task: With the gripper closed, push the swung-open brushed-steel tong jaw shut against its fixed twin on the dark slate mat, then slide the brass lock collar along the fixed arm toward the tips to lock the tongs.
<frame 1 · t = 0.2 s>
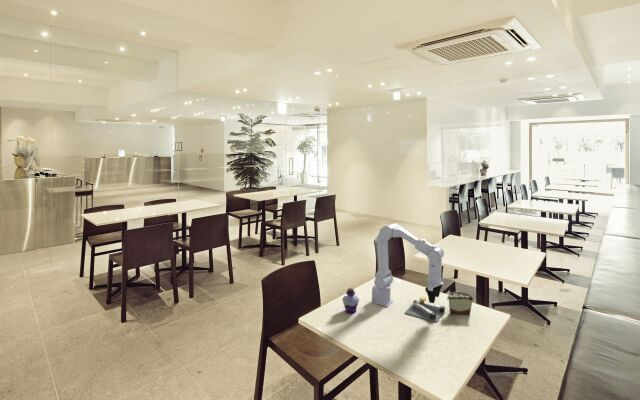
hand: (434, 299, 160), 10 cm above the table, fingers open, 7 cm apart
food container: (458, 312, 167), on the table
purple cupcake: (350, 311, 171), on the table
tongs fixed: (415, 307, 172), resting on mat
jaw: (423, 309, 166), point 2 cm above the table, hinge at -32.0°
lock collar: (422, 300, 172), point 4 cm above the table, slide at 0.0 cm
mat: (424, 312, 167), on the table
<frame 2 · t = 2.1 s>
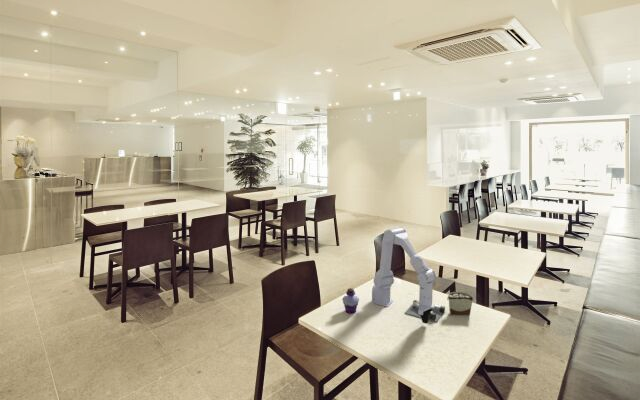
hand: (425, 322, 155), 1 cm above the table, fingers closed
nothing on the table moved.
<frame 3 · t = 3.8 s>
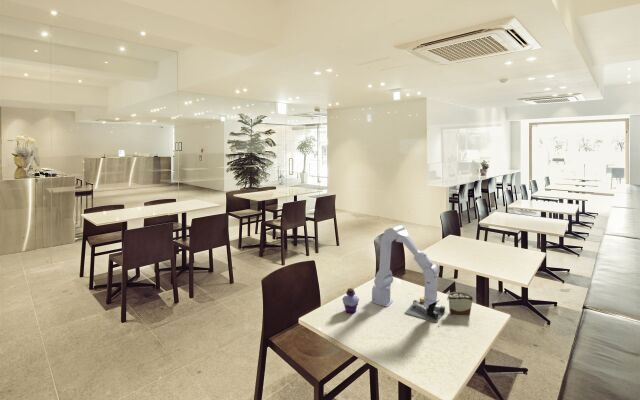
hand: (430, 315, 161), 2 cm above the table, fingers closed, pressing on jaw
jaw: (424, 308, 166), point 2 cm above the table, hinge at -25.2°, touching gripper
everything else where it was.
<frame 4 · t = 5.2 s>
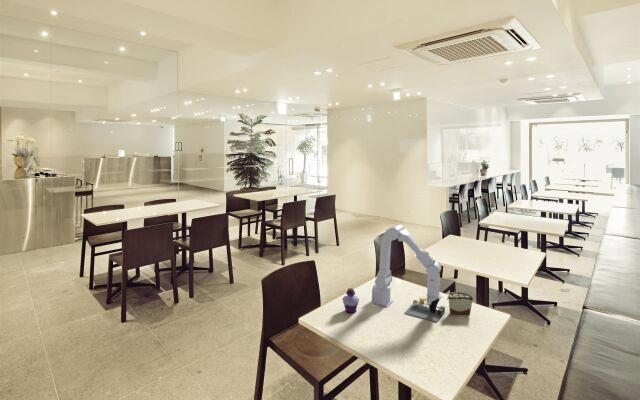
hand: (432, 312, 164), 2 cm above the table, fingers closed
jaw: (427, 307, 168), point 2 cm above the table, hinge at -4.9°, touching gripper
everything else where it was.
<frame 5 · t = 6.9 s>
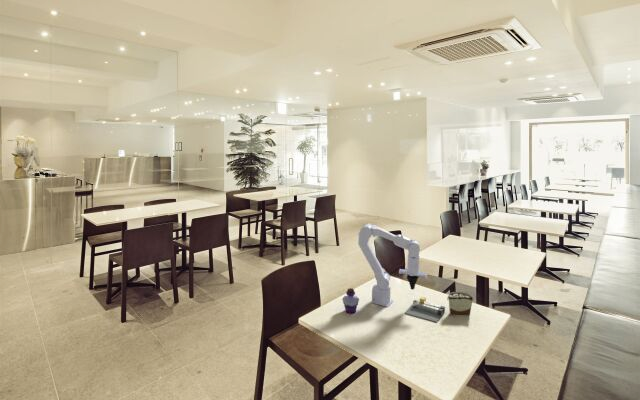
hand: (412, 288, 174), 9 cm above the table, fingers closed
jaw: (427, 307, 168), point 2 cm above the table, hinge at -4.8°
everything else where it was.
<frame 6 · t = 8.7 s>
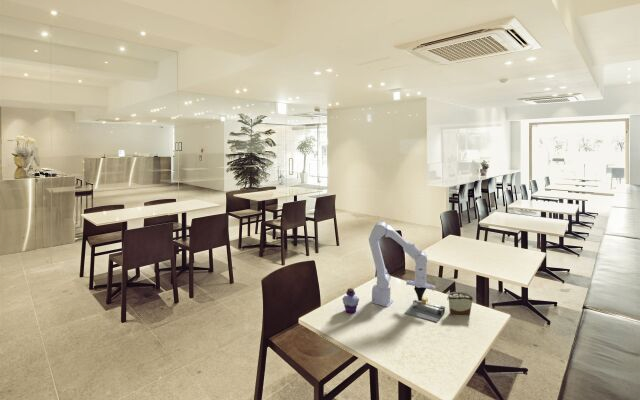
hand: (420, 300, 173), 4 cm above the table, fingers closed
lock collar: (424, 300, 171), point 4 cm above the table, slide at 0.9 cm, touching gripper
everything else where it was.
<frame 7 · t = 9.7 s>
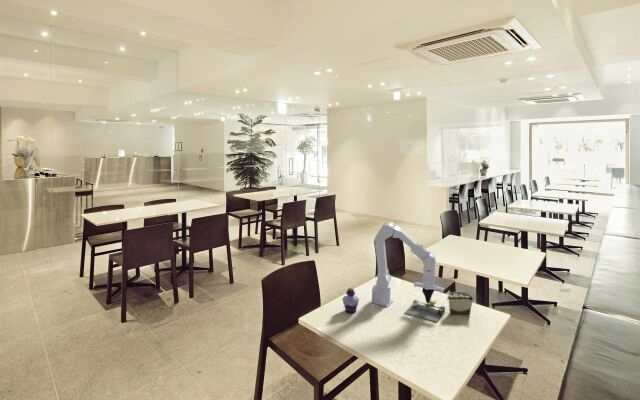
hand: (428, 302, 170), 4 cm above the table, fingers closed
lock collar: (432, 302, 169), point 4 cm above the table, slide at 5.1 cm, touching gripper
everything else where it was.
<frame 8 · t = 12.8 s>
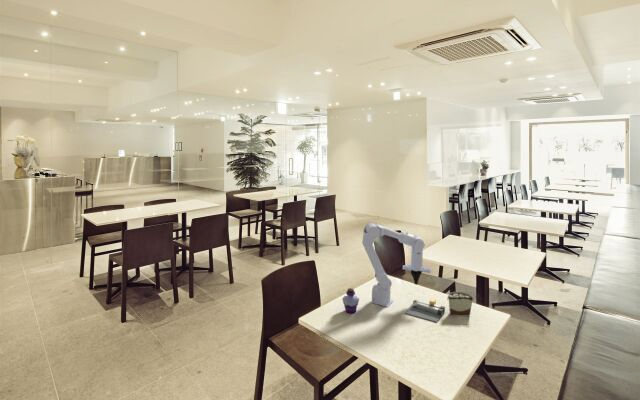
hand: (416, 283, 179), 10 cm above the table, fingers closed
lock collar: (432, 302, 169), point 4 cm above the table, slide at 5.1 cm
everything else where it was.
at the end: jaw at -5° (first picture: -32°); lock collar slide at 5.1 cm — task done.
